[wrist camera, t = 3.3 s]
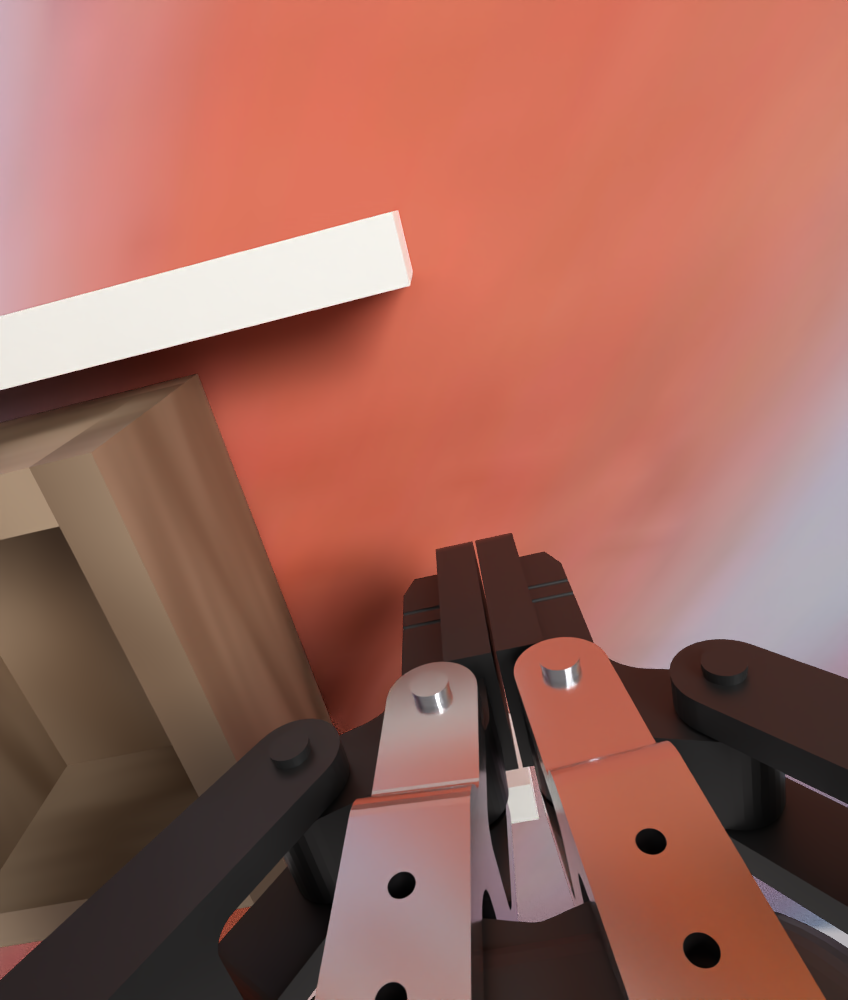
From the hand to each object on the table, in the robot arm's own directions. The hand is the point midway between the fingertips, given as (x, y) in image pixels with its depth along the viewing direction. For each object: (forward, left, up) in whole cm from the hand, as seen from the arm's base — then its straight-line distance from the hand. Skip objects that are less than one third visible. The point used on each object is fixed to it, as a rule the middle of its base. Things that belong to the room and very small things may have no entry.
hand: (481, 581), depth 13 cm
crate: (+9, 0, -3) cm, 10 cm away
